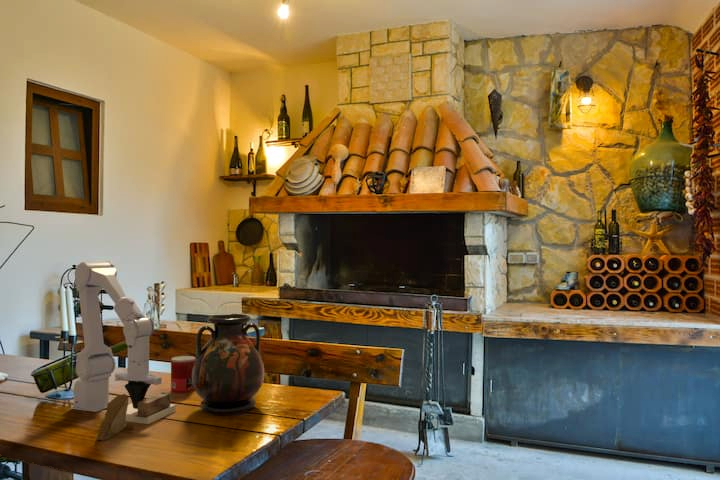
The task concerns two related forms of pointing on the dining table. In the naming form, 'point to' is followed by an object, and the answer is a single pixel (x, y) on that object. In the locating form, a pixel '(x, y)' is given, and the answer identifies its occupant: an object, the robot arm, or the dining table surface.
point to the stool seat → (134, 417)
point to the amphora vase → (228, 366)
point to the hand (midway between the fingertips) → (137, 407)
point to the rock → (114, 417)
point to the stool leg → (154, 403)
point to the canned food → (182, 374)
